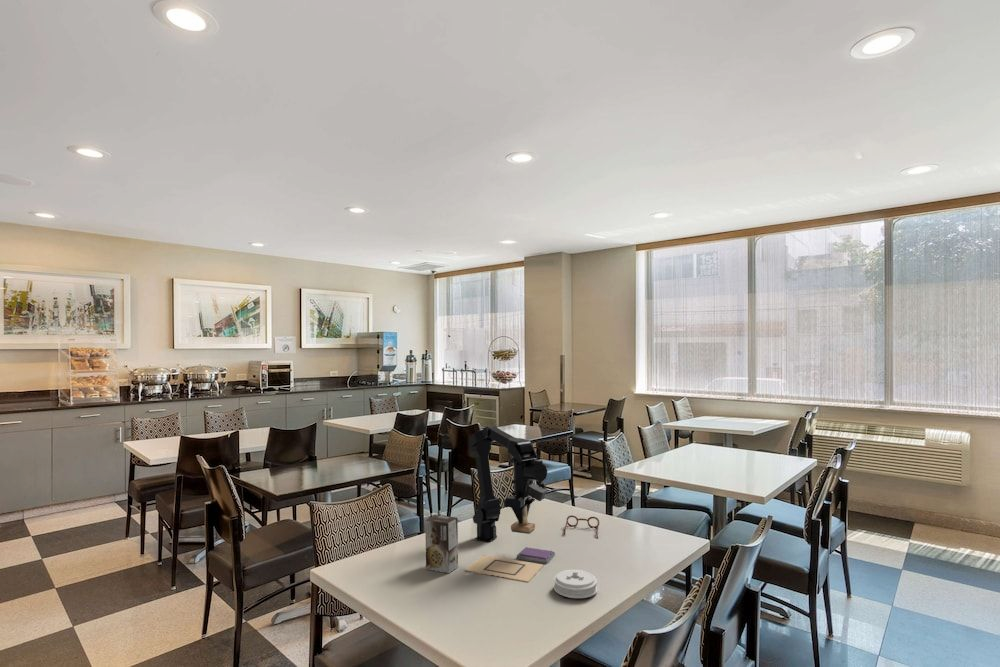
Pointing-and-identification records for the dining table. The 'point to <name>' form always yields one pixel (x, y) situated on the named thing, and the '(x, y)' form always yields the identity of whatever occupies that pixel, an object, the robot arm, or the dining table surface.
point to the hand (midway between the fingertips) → (522, 522)
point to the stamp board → (505, 568)
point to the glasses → (582, 519)
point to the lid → (575, 584)
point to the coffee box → (441, 543)
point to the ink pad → (536, 555)
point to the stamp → (523, 525)
